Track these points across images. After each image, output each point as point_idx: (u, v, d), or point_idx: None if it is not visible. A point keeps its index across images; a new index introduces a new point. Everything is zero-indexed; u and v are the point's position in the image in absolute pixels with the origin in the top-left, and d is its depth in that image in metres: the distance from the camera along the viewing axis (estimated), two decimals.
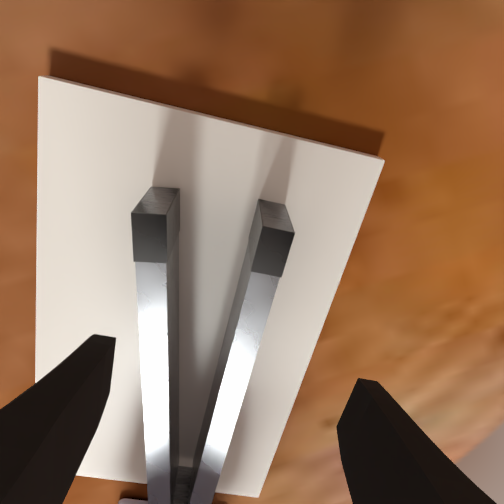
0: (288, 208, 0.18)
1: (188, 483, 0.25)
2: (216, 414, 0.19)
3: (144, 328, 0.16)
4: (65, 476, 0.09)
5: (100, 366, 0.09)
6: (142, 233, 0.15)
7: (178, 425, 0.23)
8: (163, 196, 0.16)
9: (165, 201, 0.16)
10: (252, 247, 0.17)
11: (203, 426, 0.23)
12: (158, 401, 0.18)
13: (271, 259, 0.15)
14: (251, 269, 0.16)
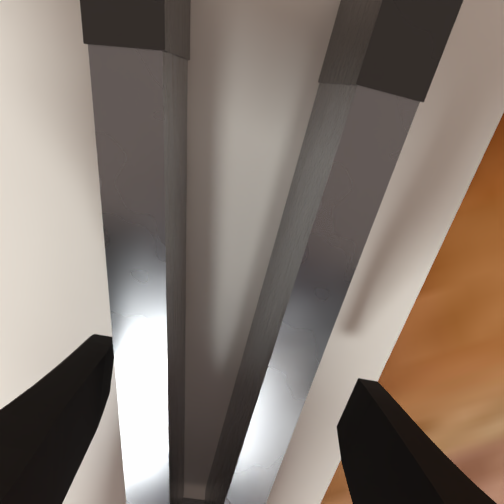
0: None
1: None
2: (257, 417, 0.10)
3: (115, 228, 0.08)
4: (65, 476, 0.09)
5: (100, 366, 0.09)
6: None
7: (183, 435, 0.14)
8: None
9: None
10: (348, 54, 0.08)
11: (225, 437, 0.14)
12: (148, 389, 0.09)
13: (407, 51, 0.07)
14: (358, 80, 0.07)
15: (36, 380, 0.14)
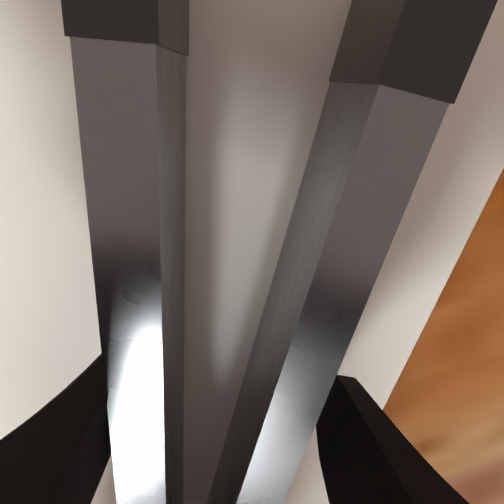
0: None
1: None
2: (261, 445, 0.09)
3: (104, 244, 0.07)
4: (93, 479, 0.09)
5: None
6: None
7: (182, 455, 0.14)
8: None
9: None
10: (366, 49, 0.07)
11: (226, 458, 0.13)
12: (142, 418, 0.08)
13: (437, 45, 0.06)
14: (379, 78, 0.06)
15: (25, 397, 0.13)
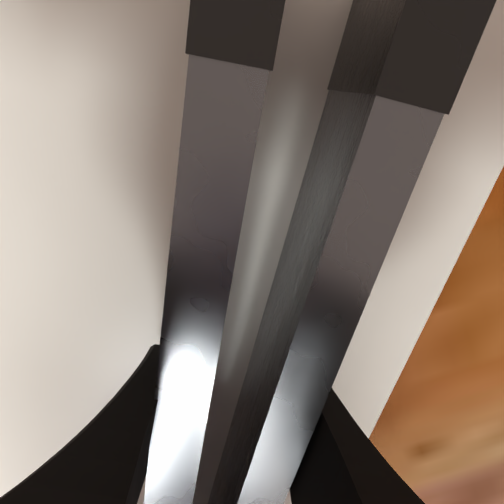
0: None
1: None
2: (261, 448, 0.09)
3: (182, 251, 0.07)
4: (139, 485, 0.09)
5: None
6: None
7: None
8: None
9: None
10: (363, 61, 0.07)
11: (226, 460, 0.13)
12: (185, 421, 0.09)
13: (432, 57, 0.06)
14: (376, 89, 0.06)
15: (28, 400, 0.13)
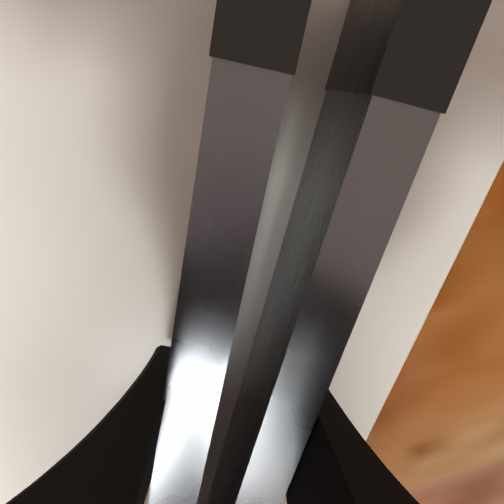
0: None
1: None
2: (259, 447, 0.09)
3: (197, 252, 0.07)
4: (146, 486, 0.09)
5: None
6: None
7: None
8: None
9: None
10: (360, 60, 0.07)
11: (225, 460, 0.13)
12: (193, 421, 0.09)
13: (428, 57, 0.06)
14: (373, 89, 0.06)
15: (26, 400, 0.13)
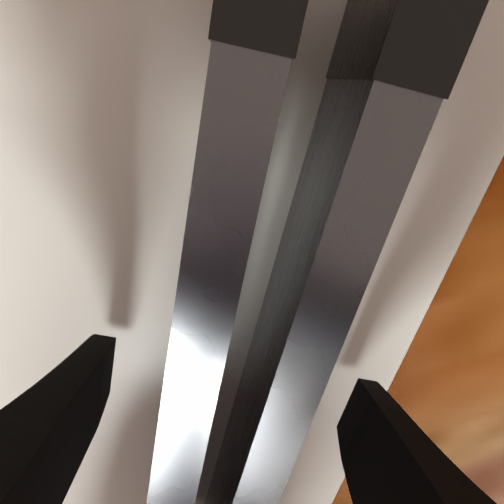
0: None
1: None
2: (259, 439, 0.09)
3: (197, 241, 0.07)
4: (65, 476, 0.09)
5: (100, 366, 0.09)
6: None
7: None
8: None
9: None
10: (361, 46, 0.07)
11: (225, 453, 0.13)
12: (192, 412, 0.09)
13: (431, 41, 0.06)
14: (374, 74, 0.06)
15: None
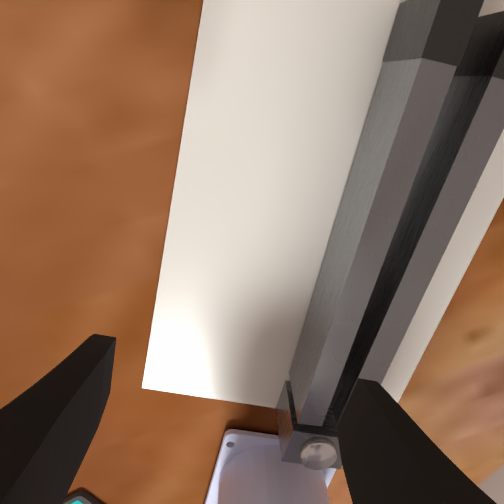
0: None
1: None
2: (401, 287, 0.16)
3: (394, 159, 0.14)
4: (65, 476, 0.09)
5: (100, 366, 0.09)
6: (448, 17, 0.12)
7: None
8: None
9: None
10: (478, 59, 0.14)
11: None
12: (370, 265, 0.15)
13: None
14: (492, 73, 0.13)
15: (220, 285, 0.20)
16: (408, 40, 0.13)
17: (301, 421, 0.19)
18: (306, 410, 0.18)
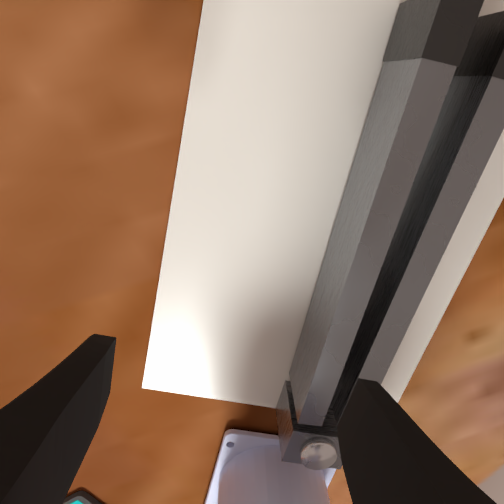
0: None
1: None
2: (401, 287, 0.16)
3: (394, 159, 0.14)
4: (65, 476, 0.09)
5: (100, 366, 0.09)
6: (448, 17, 0.12)
7: None
8: None
9: None
10: (478, 59, 0.14)
11: None
12: (370, 265, 0.15)
13: None
14: (492, 73, 0.13)
15: (220, 285, 0.20)
16: (408, 40, 0.13)
17: (301, 421, 0.19)
18: (306, 410, 0.18)
